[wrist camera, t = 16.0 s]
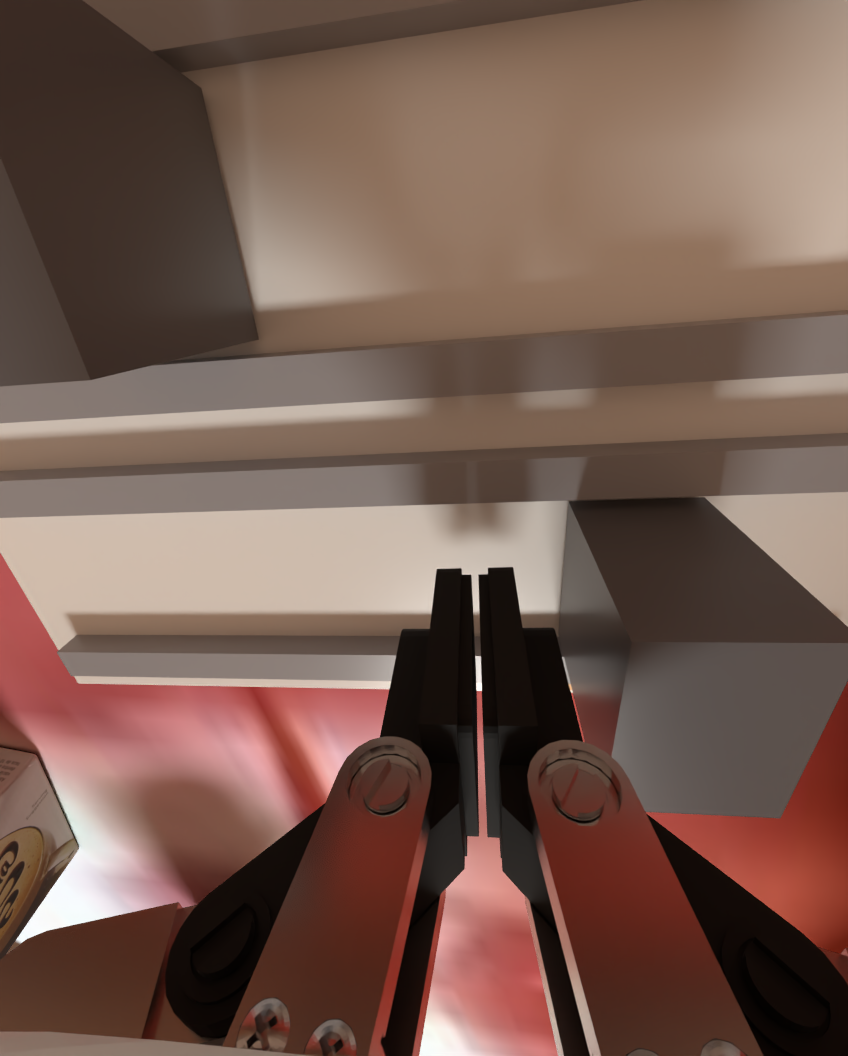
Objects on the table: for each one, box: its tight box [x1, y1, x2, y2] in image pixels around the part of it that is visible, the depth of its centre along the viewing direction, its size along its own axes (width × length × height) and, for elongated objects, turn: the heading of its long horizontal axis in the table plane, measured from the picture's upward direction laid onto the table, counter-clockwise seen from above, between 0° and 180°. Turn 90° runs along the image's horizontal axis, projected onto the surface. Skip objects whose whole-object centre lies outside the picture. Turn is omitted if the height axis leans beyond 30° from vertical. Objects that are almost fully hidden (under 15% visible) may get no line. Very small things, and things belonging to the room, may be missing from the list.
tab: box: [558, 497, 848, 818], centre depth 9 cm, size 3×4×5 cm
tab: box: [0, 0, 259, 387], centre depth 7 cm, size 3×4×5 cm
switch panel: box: [0, 0, 848, 693], centre depth 11 cm, size 24×17×3 cm
